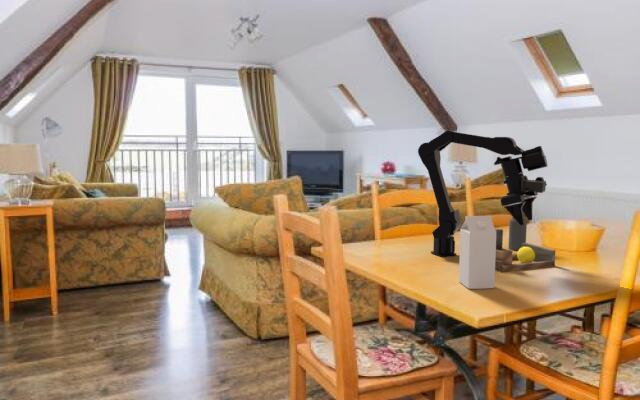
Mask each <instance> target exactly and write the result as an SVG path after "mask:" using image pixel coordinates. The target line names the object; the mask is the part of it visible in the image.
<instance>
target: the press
mask: <svg viewBox="0 0 640 400" xmlns="http://www.w3.org/2000/svg"><path fill="white" fill-rule="evenodd" d="M522 247H530V248H532V250H533V251H534V252H535V259H534V260H533V261H532V262H529V263H522V262H521V263H512V264H510V265H503V261H499V260H496V259H495V271H496V270H497V272H499V271H500V272H499V273H502V272H501V271H503V272H511V270H513V271H519V270H520V269H522V270H527V269H528V270H530V268H531V269H539V268H546V267H547V268H548V267H555V266H556V265H555V264H556V249H552V248H548V247H544V246H540V245H535V244H531V243H528V242H526V243H522ZM522 247H521V248H522ZM515 260H518V257H517V253H512V261H515Z"/></svg>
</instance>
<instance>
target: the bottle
mask: <svg viewBox="0 0 640 400" xmlns="http://www.w3.org/2000/svg"><path fill="white" fill-rule="evenodd" d="M510 216H511V217H512V218H511V219H509V221H508V222H509V227H508V246H507V247H508V248H507V249H508V250H511V251H515V252H516V251H517V252H518V250H519V249H520V248H521V247H522V243H527V227H528V226H527V225H528V221H527V220H526V219H525V218H526V216H525V214H524V213H523V218H524V225H520V224H519V223H518V222H517V221H516V219H515V218H514V217H513V216H512V215H511V214H510Z"/></svg>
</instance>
